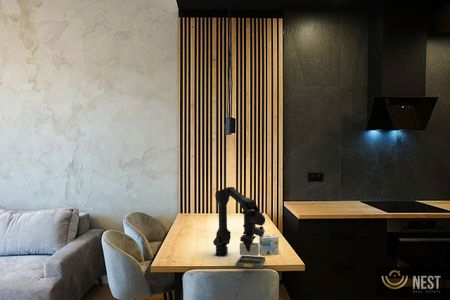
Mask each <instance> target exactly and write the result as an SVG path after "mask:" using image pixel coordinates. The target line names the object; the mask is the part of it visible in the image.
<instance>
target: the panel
mask: <svg viewBox="0 0 450 300" xmlns="http://www.w3.org/2000/svg"><path fill="white" fill-rule="evenodd" d="M259 254H260V252H259V242H253V243H251V246H250V252H248V251H247V249H246V247H245V245H244V243H243V242H242V241H240V243H239V256H242V255H243V256H258V257H259Z"/></svg>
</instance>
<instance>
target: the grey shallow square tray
mask: <svg viewBox="0 0 450 300" xmlns="http://www.w3.org/2000/svg"><path fill="white" fill-rule="evenodd" d="M265 262H266V256H259V255H258V256H251V255H240V257H239V258H238V259H237V261H236V262H235V267H236V268H246V269H247V268H249V269H262V268H263V266H264V265H265V264H264V263H265Z"/></svg>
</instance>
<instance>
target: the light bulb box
mask: <svg viewBox="0 0 450 300" xmlns="http://www.w3.org/2000/svg"><path fill="white" fill-rule="evenodd" d="M258 238H259V239H258V240H259V242H258V243H259V254H260V255H262V256H273V255H279V253H280V252H279V251H280V250H279V248H280V247H279V240H280V239H279V236H278V235H276V234H264V235H263V236H262V237H259V236H258Z"/></svg>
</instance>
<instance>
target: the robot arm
mask: <svg viewBox="0 0 450 300" xmlns="http://www.w3.org/2000/svg"><path fill="white" fill-rule="evenodd" d="M214 196H215V201H216V203H217V204H218V205H217V206H218V230H216V233H215V234H216V235H215V238H214V240H213V242H212V243H213V245H214V246H215V254H214V256H218V257H226V256H227V255H228V254H229V253H228V252H229V251H228V250H229V249H228V248H229V247H228V245H229V244H230V240H231V238H232V237H231V235H232V233H231V231H229V228H228V213H227V212H228V208H227V205H228V203H229V201H230V197H231V198H232V199H233V200H235V201H236V202H237V203H239V206H240V208H241V209H242V212H241V214H243V225H242V227H243V234H242V235H241V236H240V237H239V238H240V239H239V240H240V242H243V243H244V245H245V247H246V249H247V251H248V252H250V246H251V243H254V240H255V239H256V238H257V236H258V238H259V237H262V236H263V235H265V232H266V231H265V229H264V225H265V223H266V218H265V215H263V212H261V211H260V208H259V207H258V205H257V202H256V200H254V199H252V198H250V197H246V196H245V195H244V194H242V193H241V192H239V191H238V190H237V189H236V188H235V187H234V186H228V187H225V188H223V189H220V190H216V192H215V195H214ZM256 225H257V226H258V227H257V226H256Z"/></svg>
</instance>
